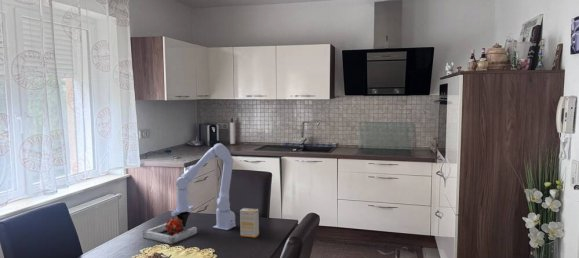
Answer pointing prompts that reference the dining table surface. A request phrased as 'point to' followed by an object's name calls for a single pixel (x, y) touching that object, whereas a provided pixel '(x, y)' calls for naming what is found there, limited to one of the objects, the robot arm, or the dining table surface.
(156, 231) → the grey u-shaped bracket
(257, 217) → the supplement box
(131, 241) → the dining table surface
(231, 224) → the robot arm
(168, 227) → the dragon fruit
